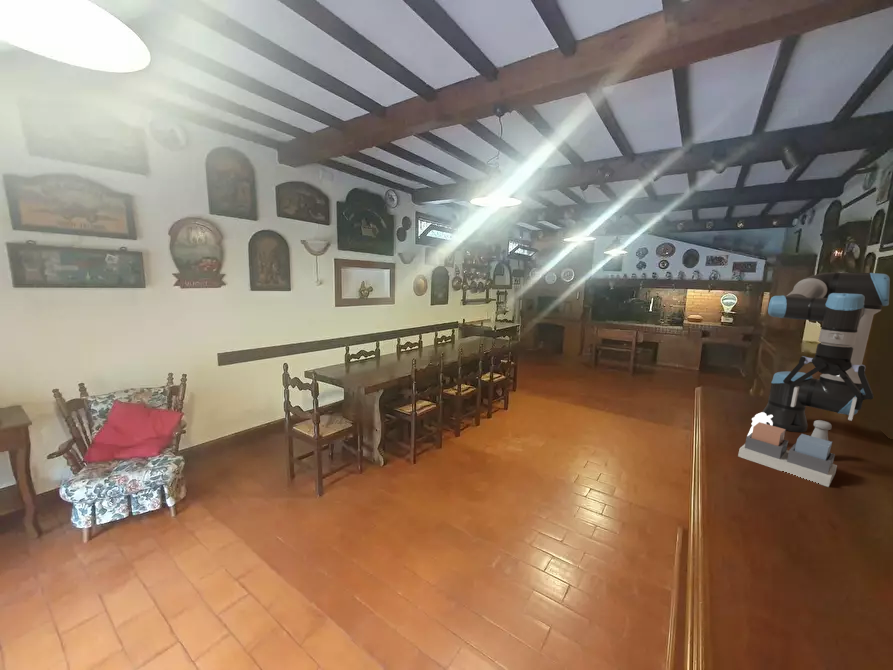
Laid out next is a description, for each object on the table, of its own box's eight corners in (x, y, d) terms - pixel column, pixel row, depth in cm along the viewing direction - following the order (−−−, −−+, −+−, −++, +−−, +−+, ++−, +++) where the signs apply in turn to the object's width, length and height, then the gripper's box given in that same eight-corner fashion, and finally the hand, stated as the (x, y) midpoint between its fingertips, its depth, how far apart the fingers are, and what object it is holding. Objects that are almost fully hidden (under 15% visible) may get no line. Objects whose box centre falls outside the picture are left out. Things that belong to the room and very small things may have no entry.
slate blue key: (798, 447, 121) (801, 433, 120) (828, 456, 115) (832, 441, 114) (794, 453, 116) (797, 438, 116) (825, 462, 111) (828, 447, 110)
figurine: (752, 437, 142) (757, 408, 140) (774, 445, 136) (780, 414, 134) (742, 440, 139) (747, 410, 137) (764, 448, 133) (770, 417, 131)
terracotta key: (756, 435, 129) (759, 422, 128) (782, 443, 124) (785, 429, 123) (750, 440, 125) (753, 426, 124) (777, 448, 120) (780, 434, 119)
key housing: (749, 446, 134) (752, 428, 132) (835, 473, 116) (840, 453, 115) (738, 456, 126) (741, 437, 125) (828, 487, 109) (833, 465, 107)
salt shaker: (832, 461, 125) (840, 425, 122) (812, 459, 126) (820, 423, 124) (818, 453, 130) (826, 419, 128) (800, 451, 131) (807, 417, 129)
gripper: (779, 338, 117) (766, 402, 121) (898, 353, 98) (878, 429, 102) (785, 337, 121) (772, 398, 125) (899, 350, 102) (881, 423, 106)
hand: (820, 412), depth 113 cm, fingers open, 12 cm apart
